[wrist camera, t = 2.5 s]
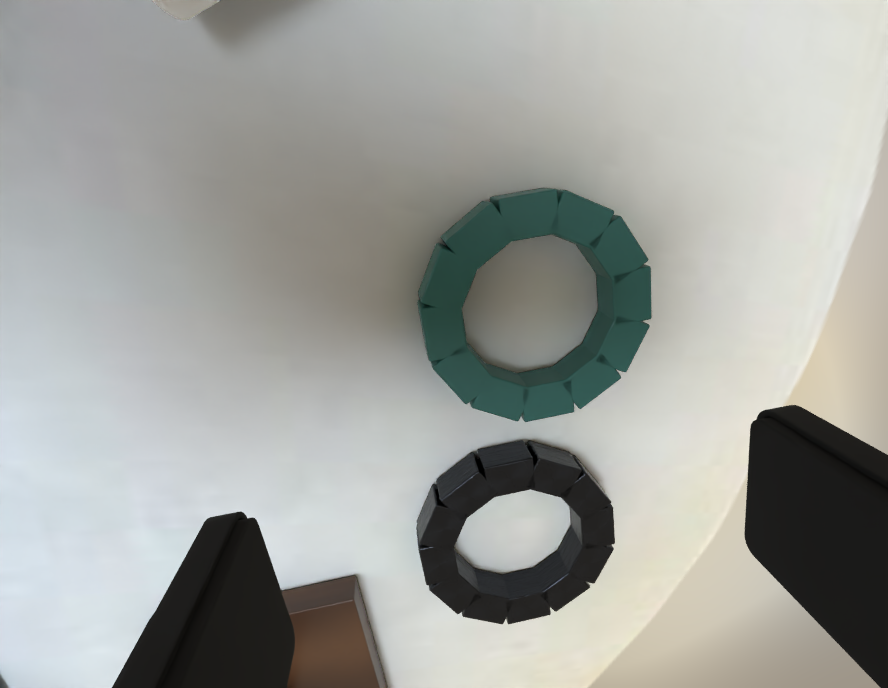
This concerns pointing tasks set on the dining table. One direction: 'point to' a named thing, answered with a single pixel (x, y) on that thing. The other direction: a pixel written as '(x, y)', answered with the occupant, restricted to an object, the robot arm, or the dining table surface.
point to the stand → (332, 637)
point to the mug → (184, 7)
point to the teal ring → (607, 337)
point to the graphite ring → (526, 588)
